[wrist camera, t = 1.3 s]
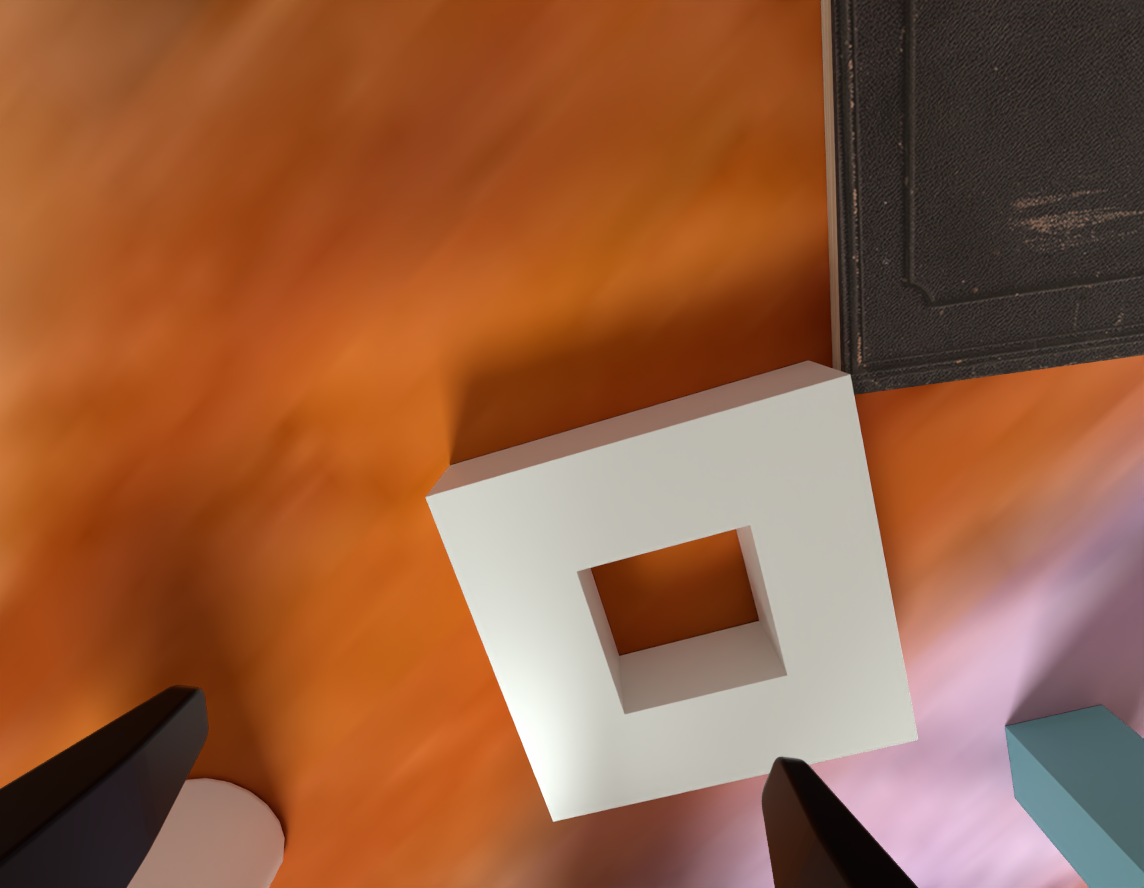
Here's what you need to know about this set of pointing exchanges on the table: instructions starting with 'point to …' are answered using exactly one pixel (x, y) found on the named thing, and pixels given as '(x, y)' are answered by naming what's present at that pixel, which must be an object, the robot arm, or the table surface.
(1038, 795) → the peg
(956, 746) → the table surface
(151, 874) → the white bottle
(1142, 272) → the hardcover book
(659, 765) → the socket block
